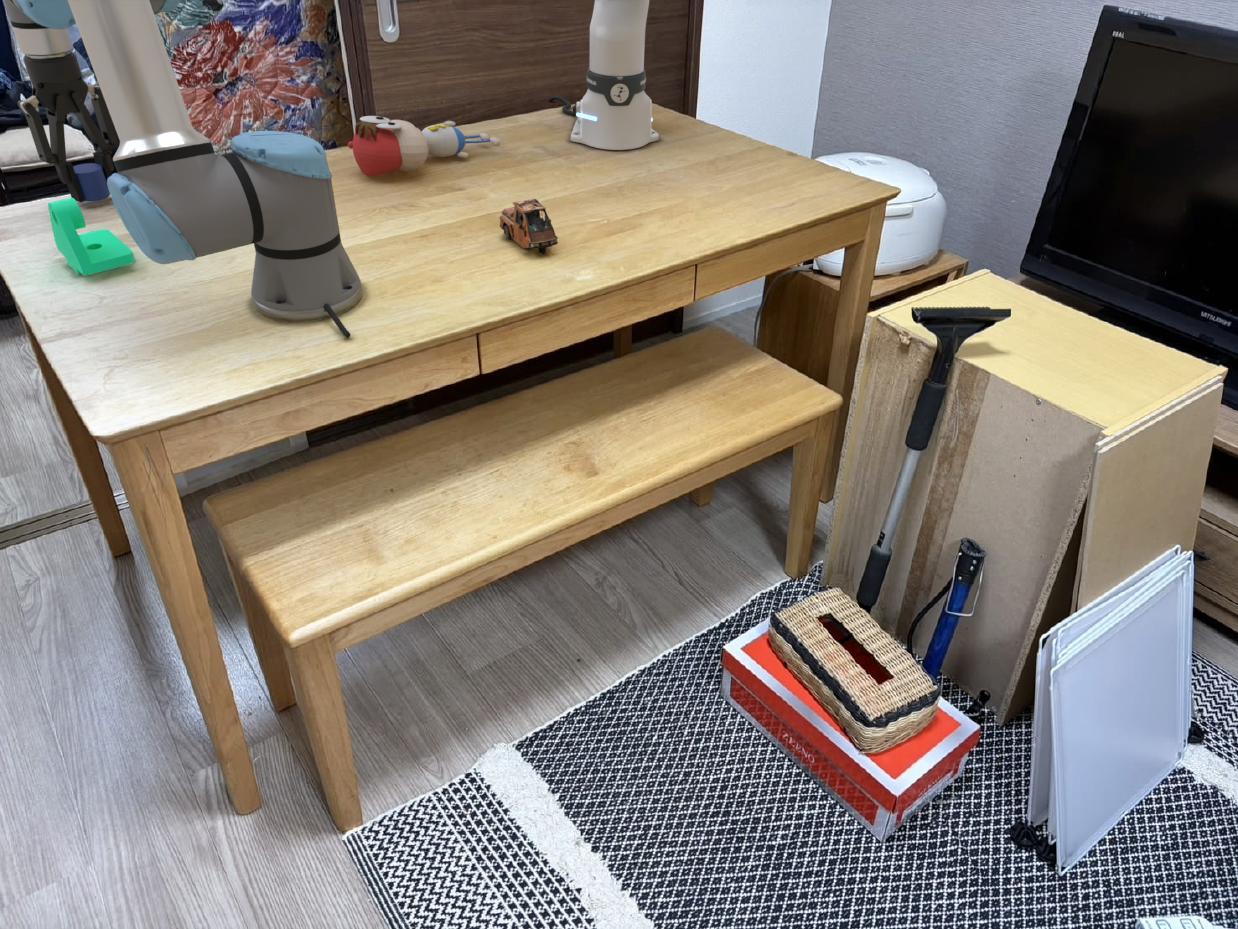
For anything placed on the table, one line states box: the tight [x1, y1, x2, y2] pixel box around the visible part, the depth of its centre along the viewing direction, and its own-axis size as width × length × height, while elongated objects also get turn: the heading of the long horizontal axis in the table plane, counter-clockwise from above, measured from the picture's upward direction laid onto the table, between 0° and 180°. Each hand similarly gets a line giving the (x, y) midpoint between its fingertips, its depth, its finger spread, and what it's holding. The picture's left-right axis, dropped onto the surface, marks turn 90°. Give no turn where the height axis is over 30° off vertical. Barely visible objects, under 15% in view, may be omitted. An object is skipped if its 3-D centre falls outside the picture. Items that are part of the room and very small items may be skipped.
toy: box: [347, 115, 502, 177], centre depth 180 cm, size 18×10×30 cm
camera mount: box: [47, 197, 136, 277], centre depth 139 cm, size 12×8×10 cm, turn 42°
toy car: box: [499, 198, 559, 255], centre depth 150 cm, size 6×12×7 cm, turn 39°
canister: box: [73, 162, 111, 203], centre depth 160 cm, size 5×5×5 cm
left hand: (94, 195), depth 161 cm, fingers closed on canister, 5 cm apart
